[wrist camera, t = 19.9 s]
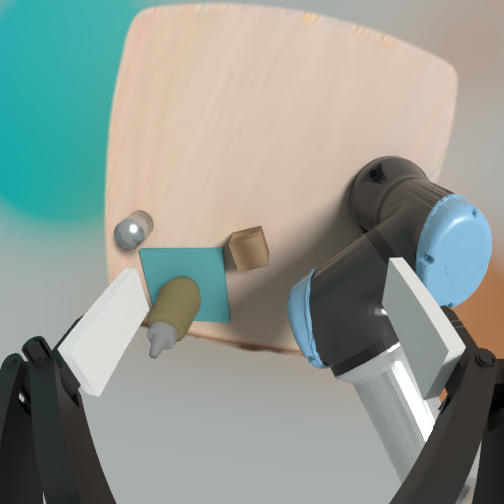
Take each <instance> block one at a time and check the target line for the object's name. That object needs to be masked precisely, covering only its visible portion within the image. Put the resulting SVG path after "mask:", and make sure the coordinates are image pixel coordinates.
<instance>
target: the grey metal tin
mask: <svg viewBox="0 0 504 504" xmlns="http://www.w3.org/2000/svg"><path fill="white" fill-rule="evenodd" d="M152 230H153V220H152V218H151V216H150V215H149V214H148V213H147V212H145V211H142V210H138V211H135V212H133V213H132V214H131V215H129V216H128V217H127V218H125V219H124V220H123V221H121V222H120V223H119V224H117V225H116V227H115V229H114V237H115V240H116V242H117V243H118V244H119V245H120V246H121V247H122V248H124V249H127V250H132V249H134V248H136V247H137V246H138V245H139V244H140V243H141V242H142V241H143V240H144V239H145V238H146V237H147V236H148V235H149V234H150V233H151V232H152Z"/></svg>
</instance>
